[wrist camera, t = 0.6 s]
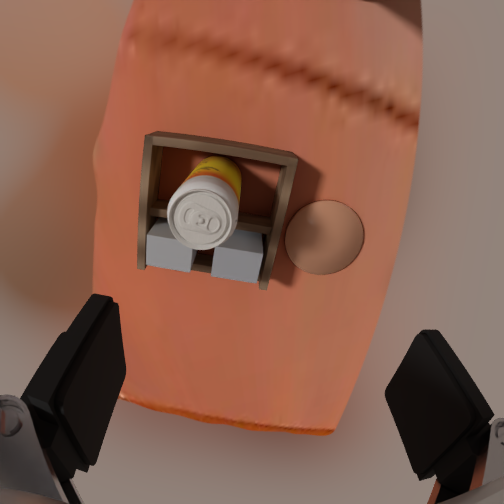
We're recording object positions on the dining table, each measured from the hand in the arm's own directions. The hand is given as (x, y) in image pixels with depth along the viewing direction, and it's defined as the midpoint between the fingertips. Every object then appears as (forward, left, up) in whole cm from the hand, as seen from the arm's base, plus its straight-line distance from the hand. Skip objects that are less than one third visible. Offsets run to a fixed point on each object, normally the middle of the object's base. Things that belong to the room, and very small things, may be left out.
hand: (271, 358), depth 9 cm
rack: (+7, -4, -32) cm, 33 cm away
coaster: (+9, +11, -32) cm, 35 cm away
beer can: (+3, -4, -32) cm, 33 cm away
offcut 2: (+11, 0, -32) cm, 34 cm away
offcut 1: (+11, -8, -32) cm, 35 cm away
